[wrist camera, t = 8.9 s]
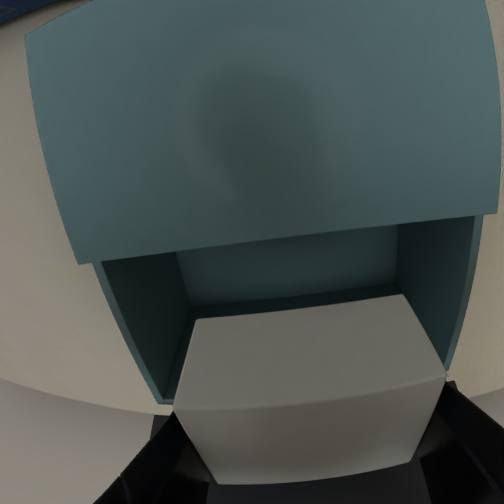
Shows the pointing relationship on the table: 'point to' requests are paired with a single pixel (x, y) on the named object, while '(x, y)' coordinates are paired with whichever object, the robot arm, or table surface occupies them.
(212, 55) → the teal storage bin
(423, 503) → the hatch
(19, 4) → the radio
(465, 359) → the table surface
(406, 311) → the gray rectangular box
